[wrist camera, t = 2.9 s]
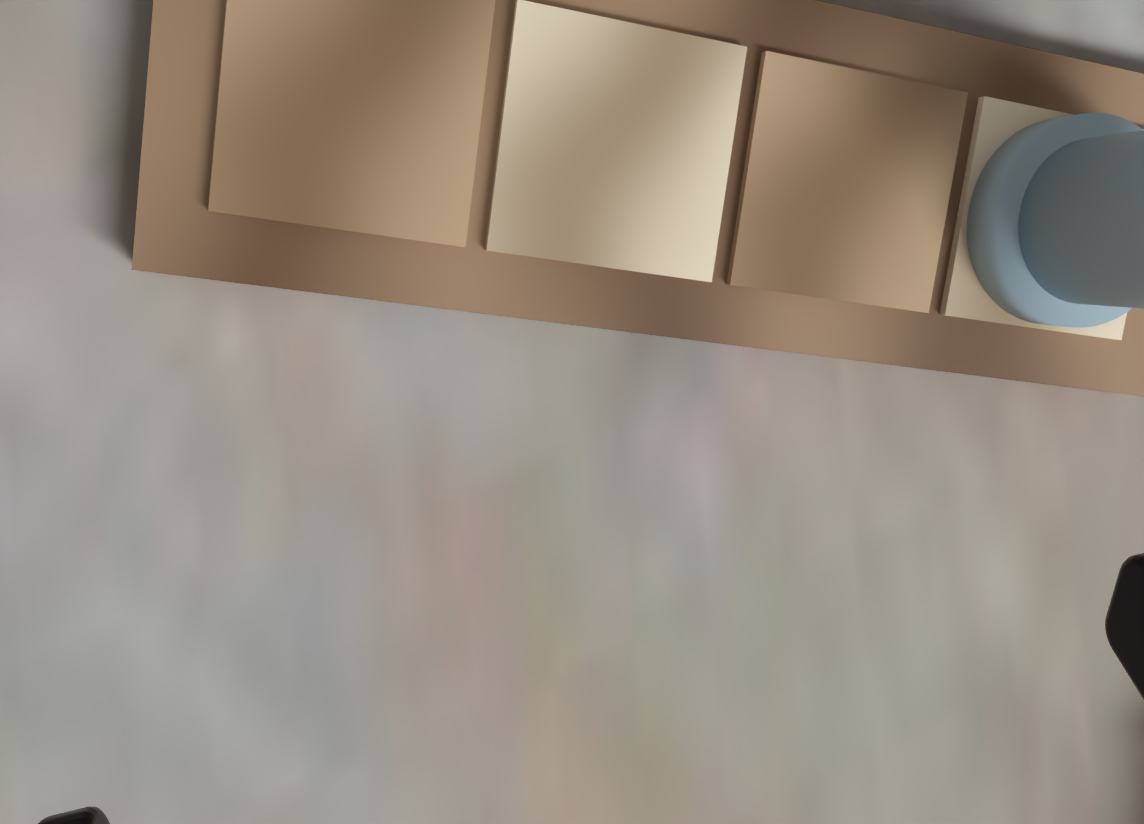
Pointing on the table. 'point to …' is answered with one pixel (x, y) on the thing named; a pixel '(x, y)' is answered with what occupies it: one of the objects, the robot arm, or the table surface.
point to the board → (616, 169)
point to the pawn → (1062, 221)
